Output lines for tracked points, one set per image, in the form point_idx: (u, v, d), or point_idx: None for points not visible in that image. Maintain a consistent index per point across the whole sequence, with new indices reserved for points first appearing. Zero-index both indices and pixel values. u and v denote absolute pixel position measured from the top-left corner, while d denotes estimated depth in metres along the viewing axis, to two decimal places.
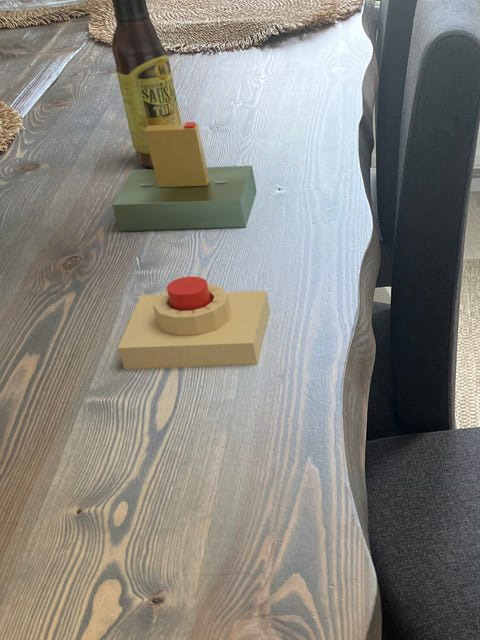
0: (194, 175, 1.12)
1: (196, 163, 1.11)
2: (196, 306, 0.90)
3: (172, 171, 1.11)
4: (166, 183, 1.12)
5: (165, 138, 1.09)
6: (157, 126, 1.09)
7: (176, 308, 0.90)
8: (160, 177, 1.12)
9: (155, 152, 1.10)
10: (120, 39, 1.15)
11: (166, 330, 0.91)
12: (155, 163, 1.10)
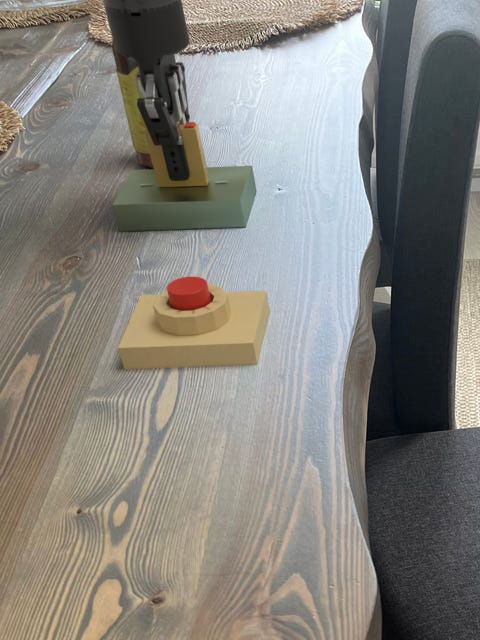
0: (194, 175, 1.12)
1: (196, 163, 1.11)
2: (196, 306, 0.90)
3: None
4: (166, 183, 1.12)
5: None
6: None
7: (176, 308, 0.90)
8: (160, 177, 1.12)
9: (155, 152, 1.10)
10: None
11: (166, 330, 0.91)
12: (155, 163, 1.10)
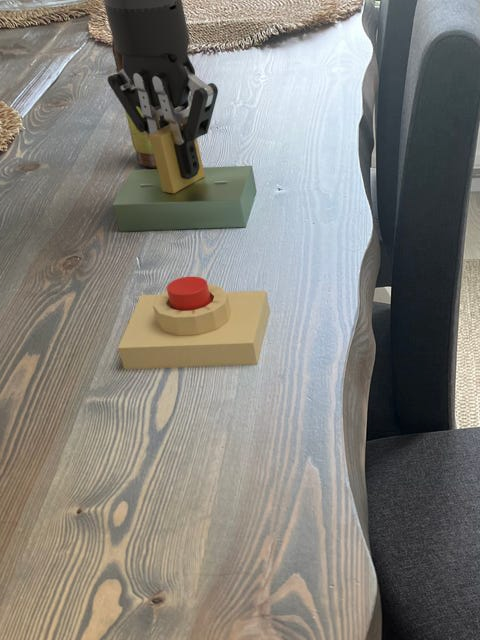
0: None
1: None
2: (196, 306, 0.90)
3: None
4: (178, 187, 1.11)
5: None
6: (159, 131, 1.08)
7: (176, 308, 0.90)
8: (174, 182, 1.10)
9: (169, 156, 1.09)
10: None
11: (166, 330, 0.91)
12: (170, 168, 1.09)
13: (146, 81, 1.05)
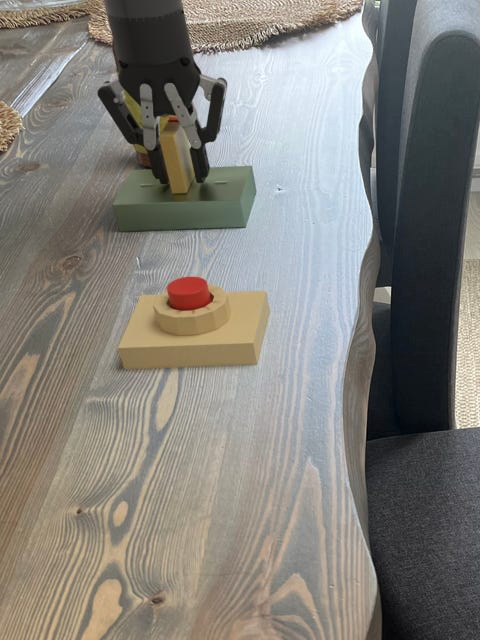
0: (191, 167, 1.13)
1: (189, 154, 1.13)
2: (196, 306, 0.90)
3: (186, 170, 1.11)
4: (187, 186, 1.11)
5: (179, 137, 1.09)
6: (165, 132, 1.08)
7: (176, 308, 0.90)
8: (185, 181, 1.11)
9: (179, 156, 1.09)
10: None
11: (166, 330, 0.91)
12: (181, 167, 1.09)
13: (152, 91, 1.05)
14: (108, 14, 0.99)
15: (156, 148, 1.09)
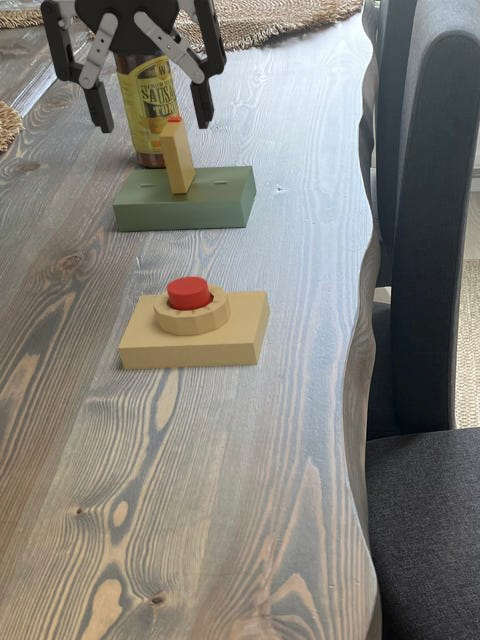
0: (191, 167, 1.13)
1: (189, 154, 1.13)
2: (196, 306, 0.90)
3: (186, 170, 1.11)
4: (187, 186, 1.11)
5: (179, 137, 1.09)
6: (165, 132, 1.08)
7: (176, 308, 0.90)
8: (185, 181, 1.11)
9: (179, 156, 1.09)
10: None
11: (166, 330, 0.91)
12: (181, 167, 1.09)
13: (118, 23, 0.83)
14: None
15: (95, 86, 0.87)
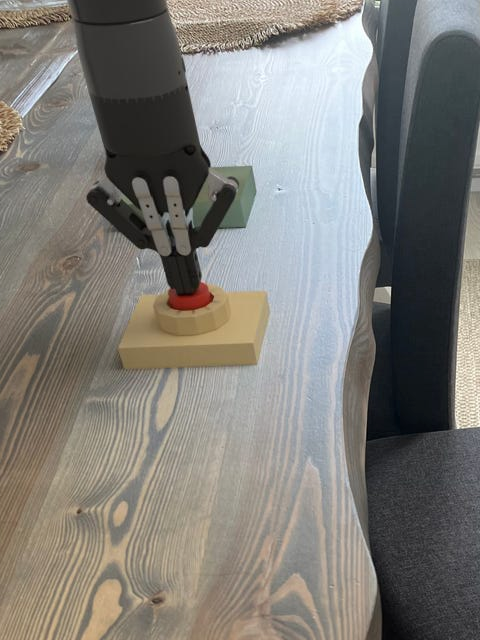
0: None
1: None
2: None
3: None
4: None
5: None
6: None
7: None
8: None
9: None
10: None
11: (166, 330, 0.91)
12: None
13: (147, 185, 0.83)
14: (90, 93, 0.77)
15: (172, 253, 0.87)
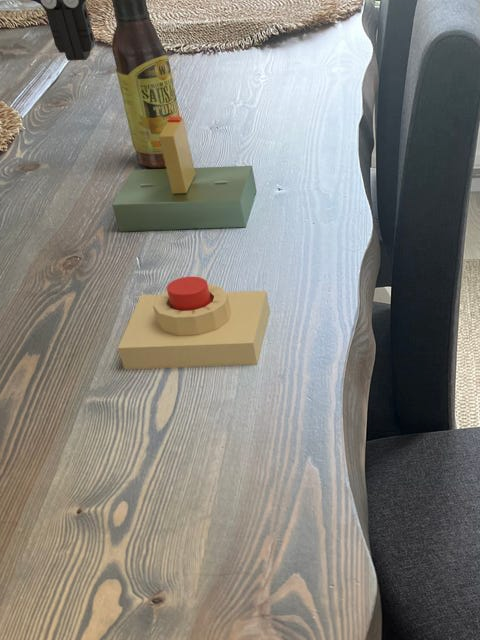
0: (191, 167, 1.13)
1: (189, 154, 1.13)
2: (196, 306, 0.90)
3: (186, 170, 1.11)
4: (187, 186, 1.11)
5: (179, 137, 1.09)
6: (165, 132, 1.08)
7: (176, 308, 0.90)
8: (185, 181, 1.11)
9: (179, 156, 1.09)
10: (120, 39, 1.15)
11: (166, 330, 0.91)
12: (181, 167, 1.09)
13: None
14: None
15: (58, 6, 0.79)
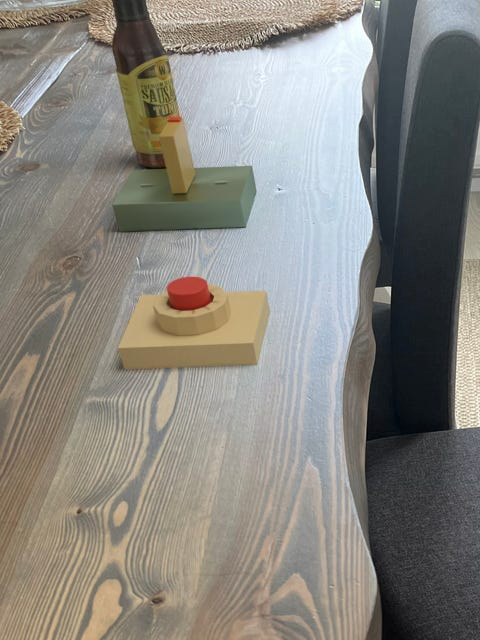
0: (191, 167, 1.13)
1: (189, 154, 1.13)
2: (196, 306, 0.90)
3: (186, 170, 1.11)
4: (187, 186, 1.11)
5: (179, 137, 1.09)
6: (165, 132, 1.08)
7: (176, 308, 0.90)
8: (185, 181, 1.11)
9: (179, 156, 1.09)
10: (120, 39, 1.15)
11: (166, 330, 0.91)
12: (181, 167, 1.09)
13: None
14: None
15: None
